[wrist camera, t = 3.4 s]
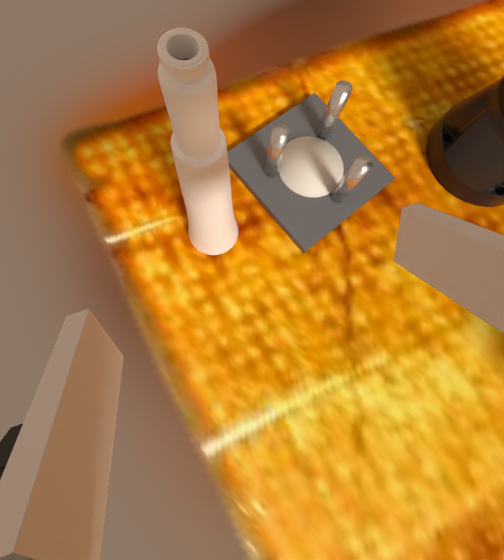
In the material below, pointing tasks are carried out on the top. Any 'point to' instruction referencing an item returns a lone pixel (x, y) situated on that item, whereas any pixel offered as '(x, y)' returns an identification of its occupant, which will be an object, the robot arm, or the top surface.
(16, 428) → the robot arm
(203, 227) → the cosmetic bottle
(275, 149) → the steel pins
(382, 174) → the board
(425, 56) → the top surface
